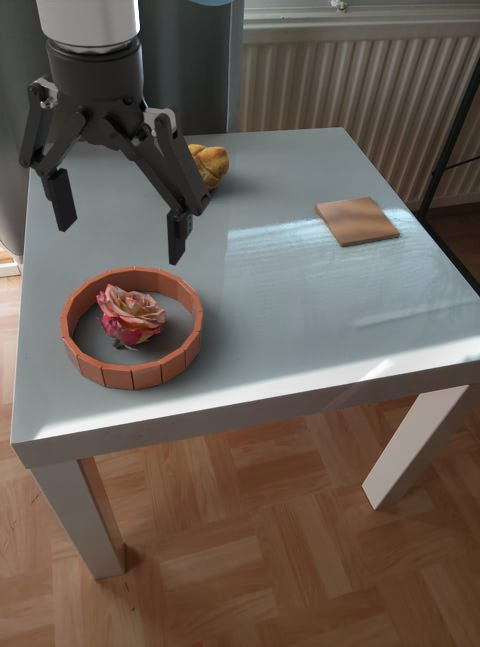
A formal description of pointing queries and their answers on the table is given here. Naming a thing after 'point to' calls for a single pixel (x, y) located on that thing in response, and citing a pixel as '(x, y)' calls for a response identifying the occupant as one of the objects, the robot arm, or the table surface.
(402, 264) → the table surface
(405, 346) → the table surface
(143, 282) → the terracotta brick ring
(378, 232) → the brown wooden square board
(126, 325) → the flower
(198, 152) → the bread roll
